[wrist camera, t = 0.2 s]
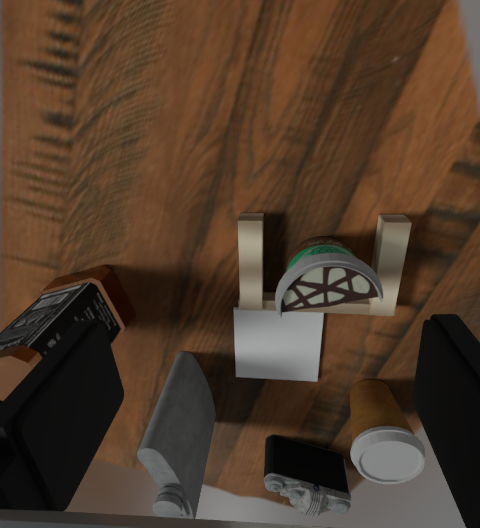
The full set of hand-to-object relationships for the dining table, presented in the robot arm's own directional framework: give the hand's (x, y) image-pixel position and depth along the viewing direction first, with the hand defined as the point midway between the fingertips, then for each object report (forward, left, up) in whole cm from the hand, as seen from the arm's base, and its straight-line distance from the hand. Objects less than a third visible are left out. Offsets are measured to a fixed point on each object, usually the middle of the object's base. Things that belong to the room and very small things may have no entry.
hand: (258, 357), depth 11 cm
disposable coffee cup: (+37, +16, -36) cm, 54 cm away
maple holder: (+14, +6, -36) cm, 39 cm away
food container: (+12, +6, -36) cm, 39 cm away
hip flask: (+38, -12, -36) cm, 54 cm away
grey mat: (+28, +1, -36) cm, 46 cm away
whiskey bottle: (+21, -27, -36) cm, 50 cm away
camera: (+53, +6, -37) cm, 65 cm away
